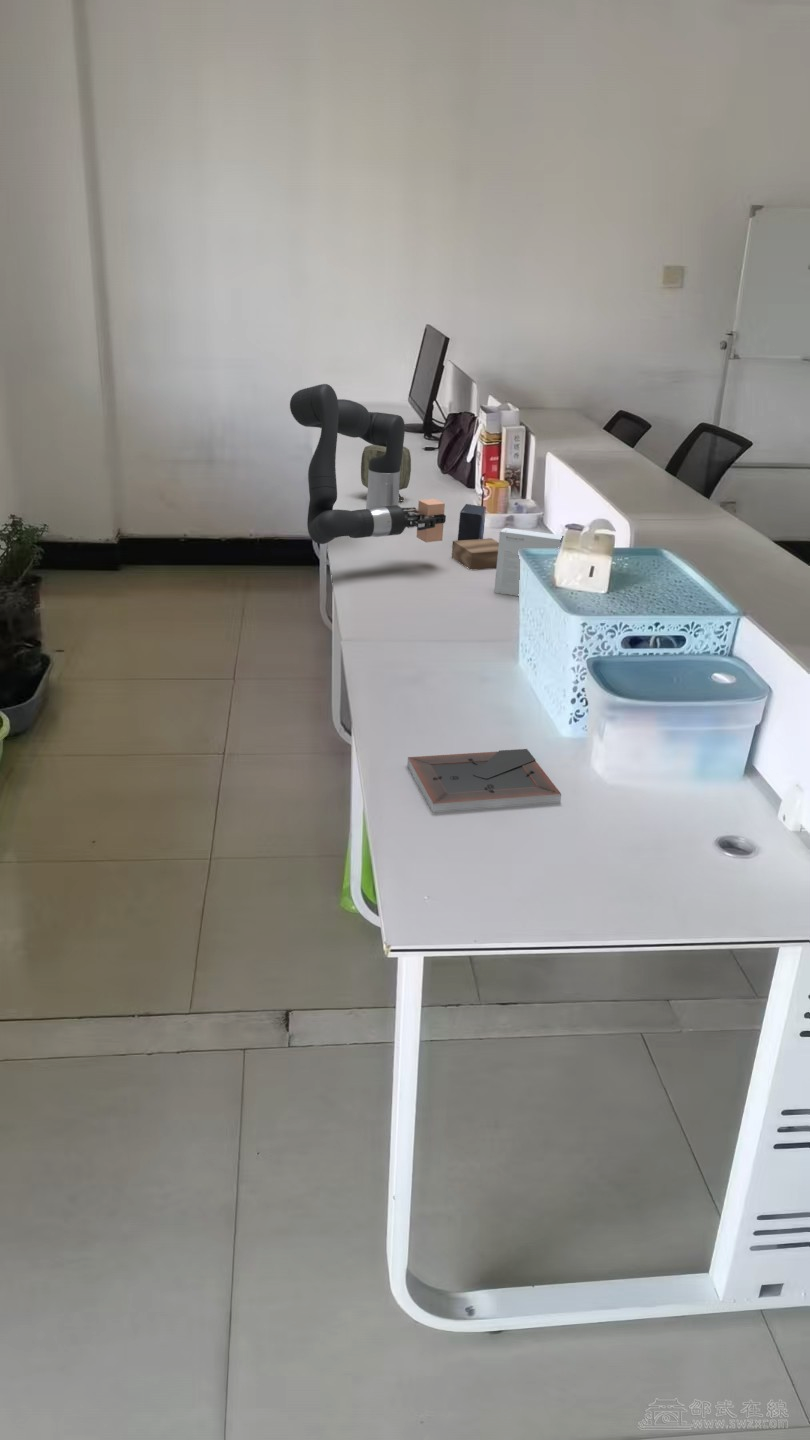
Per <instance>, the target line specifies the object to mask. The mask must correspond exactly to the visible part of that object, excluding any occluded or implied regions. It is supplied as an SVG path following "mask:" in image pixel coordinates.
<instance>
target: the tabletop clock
mask: <svg viewBox="0 0 810 1440" xmlns="http://www.w3.org/2000/svg"><path fill="white" fill-rule="evenodd" d="M410 451H411V450H410V449H409V448H407V446H404V445H403V454H402V461H401V466H400V483H399V491H401V490H405V489H407V488H408V486H409V483H410V480H411V472H412V456H411V452H410ZM385 453H386V447H384V446H378V445H373V444H370V445H367V446H364V449H363V451H362V454H361V462H360V480H361V484H362V485H363V486H364V487H365V488H367V489H368V474H369V461H370V459H372V458H375V457H379V456H382V455H384V454H385ZM399 500H405V498H404V497H403V496H401V494H400V493H399Z"/></svg>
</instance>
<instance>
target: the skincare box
mask: <svg viewBox="0 0 810 1440" xmlns="http://www.w3.org/2000/svg"><path fill="white" fill-rule="evenodd" d="M562 536H564V535H562V534H554V533H547V532H539V531H531V530H524V529H517V528H508V527H504V528H502V529H501V530H499V536H498V537H499V538H498V542H499V547H498V556H497V567H496V568H495V569H496V571H495V580H494V581H495V582H494V590H493V592H495V593H494V594H499V593H501V595H506V594H510V595H509V596H512V595H516V596H515V597H519V596H518V594H519V580H520V559H519V555H518V550H519V549H523V548H558V547H559V545H560V540H561V538H562Z"/></svg>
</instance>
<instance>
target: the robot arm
mask: <svg viewBox="0 0 810 1440" xmlns="http://www.w3.org/2000/svg"><path fill="white" fill-rule="evenodd" d="M289 409H290V413H291V415H292V417H293V419H294V420H295V421H296V422H297V423H298V424H300V425H301V426H303V427H306V428H307V427H308V428H309V427H310V428H320V429H321V432H320V436H319V438H318V439H319V440H318V442H317V445H316V448H315V451H314V453H313V455H312V457H311V459H310V463H309V466H308V471H307V472H308V473H307V479H308V492H309V502H308V503H309V504H308V511H307V519H306V520H307V531H308V535H309V537H310V538H311V540H312V541H313V542H315V543H316V544H319V545H324V544H328V543H330V542H332V541H333V540H334V539H336V538H341V537H349V538H351V539H362V538H371V537H373V538H379V537H389V536H396V535H397V536H398V535H401V534H402V533H404V531H405V529H406V528H408V529H414V528H416V531H417V530H424V529H429V528H434V527H435V524H439V523H443V524H445V523H446V520H447V519H446V518H447V516H446V514H445V513H444V514H440V515H425V514H424V513H418V508H416V507H414V506H413V507H401V506H400V505H399V502H400V501H399V494H400V490H399V483H400V466H401V461H402V454H403V446H404V440H405V434H406V433H405V431H406V428H405V427H406V426H405V425H406V424H405V420H404V417H402V416H401V415H399V414H393V413H386V412H375V411H374V412H371V411H368V409H367V407H366V406H365V405H363V404H361V403H359V402H357V401H354V400H350V399H340V398H339V399H338V395H337V393H336V391H335V390H334V388H333V387H332V386H331V385H330V384H328V383H322V384H317V385H314V386H309V387H307V388H306V387H305V388H302V389H300V390H299V389H298V391H296V392H294V394H292V396H291V398H290V401H289ZM338 434H339V435H342V436H345V437H349V438H360V440H361V439H362V440H363V441H365V442H366V443H368V444H370V445H378V446H384V447H386V453H385V454H384V455H382V456H379V457H375V458H372V459H370V461H369V474H368V488H367V493H366V502H365V503H366V507H365V508H364V509H355V510H350V509H349V510H348V509H347V510H346V509H334V506H335V504H336V502H337V499H338V487H337V485H338V484H337V473H336V471H337V470H336V469H337V468H336V457H337V454H336V453H337V443H338V442H337V441H338ZM420 516H422V519H420Z"/></svg>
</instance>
